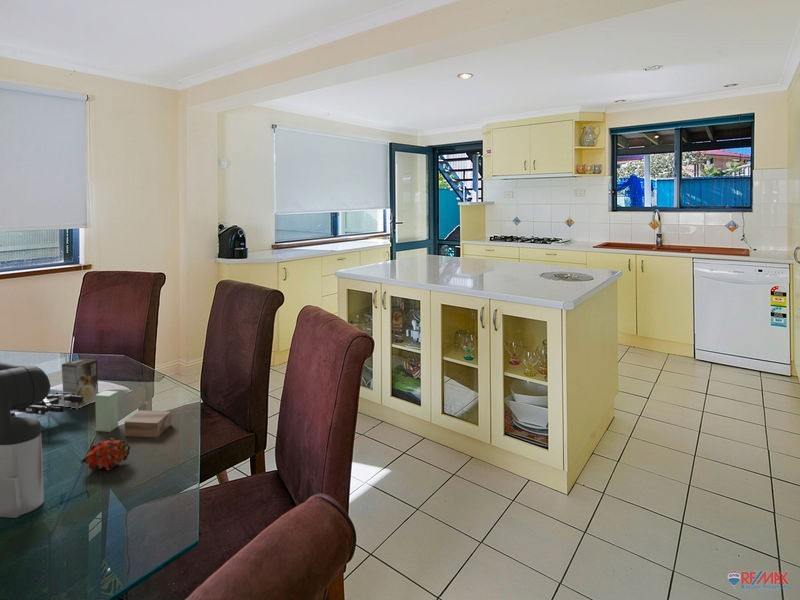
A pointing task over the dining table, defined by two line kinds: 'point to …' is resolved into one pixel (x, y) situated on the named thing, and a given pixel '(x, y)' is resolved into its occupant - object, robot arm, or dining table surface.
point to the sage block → (106, 410)
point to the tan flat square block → (147, 423)
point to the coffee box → (80, 380)
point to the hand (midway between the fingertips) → (73, 404)
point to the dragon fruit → (106, 454)
